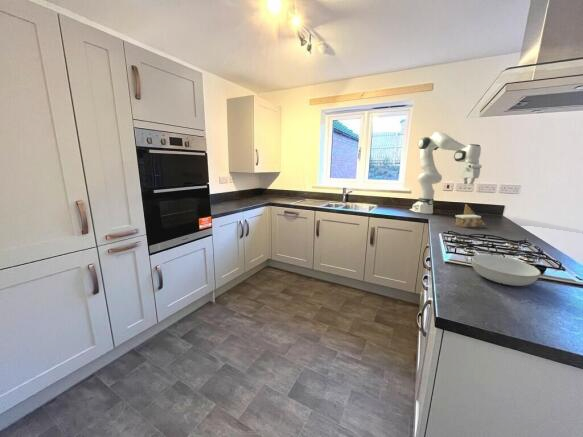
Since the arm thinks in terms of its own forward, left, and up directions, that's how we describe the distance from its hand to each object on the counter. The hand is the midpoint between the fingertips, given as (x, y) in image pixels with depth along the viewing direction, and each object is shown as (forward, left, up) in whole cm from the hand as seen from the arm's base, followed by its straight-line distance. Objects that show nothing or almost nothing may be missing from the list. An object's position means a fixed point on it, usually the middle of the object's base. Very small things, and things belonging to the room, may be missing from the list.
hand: (468, 184), depth 185 cm
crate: (+7, -2, -32) cm, 33 cm away
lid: (+7, -2, -25) cm, 26 cm away
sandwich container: (-1, +14, -32) cm, 35 cm away
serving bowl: (+83, -72, -32) cm, 114 cm away
